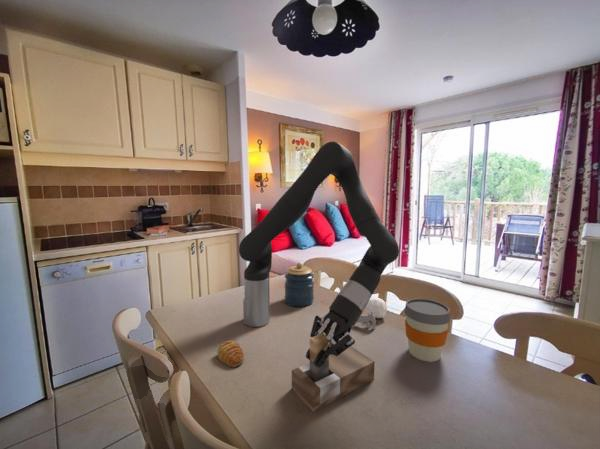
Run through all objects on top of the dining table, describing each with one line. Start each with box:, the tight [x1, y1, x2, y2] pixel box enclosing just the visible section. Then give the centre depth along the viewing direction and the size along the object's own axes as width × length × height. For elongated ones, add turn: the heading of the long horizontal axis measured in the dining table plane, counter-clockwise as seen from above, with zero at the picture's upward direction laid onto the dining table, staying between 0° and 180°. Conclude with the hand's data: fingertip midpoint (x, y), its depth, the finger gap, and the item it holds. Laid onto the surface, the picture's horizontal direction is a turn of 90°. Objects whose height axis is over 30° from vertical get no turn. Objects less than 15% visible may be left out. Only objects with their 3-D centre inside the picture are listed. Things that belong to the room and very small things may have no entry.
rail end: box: [309, 333, 329, 382], centre depth 68 cm, size 4×2×10 cm, turn 124°
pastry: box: [216, 340, 245, 368], centre depth 82 cm, size 9×7×4 cm
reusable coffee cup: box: [404, 298, 451, 363], centre depth 85 cm, size 13×12×15 cm
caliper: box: [356, 311, 376, 330], centre depth 104 cm, size 20×1×6 cm, turn 67°
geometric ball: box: [366, 297, 388, 319], centre depth 110 cm, size 8×8×8 cm
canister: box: [284, 262, 315, 308], centre depth 124 cm, size 13×13×18 cm
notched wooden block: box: [291, 345, 375, 413], centre depth 72 cm, size 20×9×5 cm, turn 124°
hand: (312, 362), depth 67 cm, fingers closed on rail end, 2 cm apart
